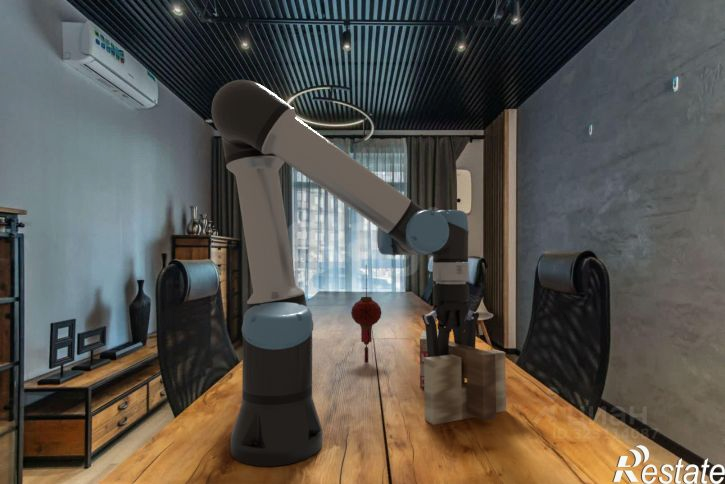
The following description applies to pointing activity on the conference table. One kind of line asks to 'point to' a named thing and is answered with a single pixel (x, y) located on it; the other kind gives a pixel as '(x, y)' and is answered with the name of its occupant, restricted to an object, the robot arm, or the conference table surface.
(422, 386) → the red and beige box
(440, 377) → the grey notched block
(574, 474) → the conference table surface
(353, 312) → the lantern
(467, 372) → the tall brown wooden block
